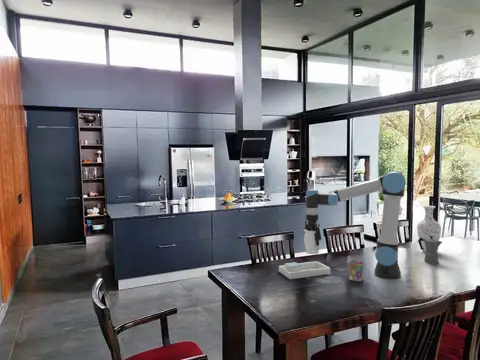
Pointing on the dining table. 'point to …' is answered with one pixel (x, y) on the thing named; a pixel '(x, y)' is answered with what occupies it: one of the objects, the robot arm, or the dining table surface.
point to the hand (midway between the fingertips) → (312, 248)
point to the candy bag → (356, 270)
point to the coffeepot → (430, 249)
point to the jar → (310, 242)
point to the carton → (292, 269)
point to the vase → (428, 226)
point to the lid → (292, 265)
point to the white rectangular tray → (306, 270)
